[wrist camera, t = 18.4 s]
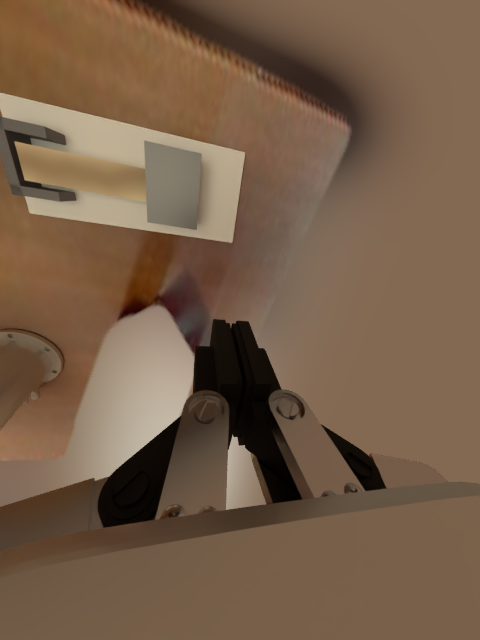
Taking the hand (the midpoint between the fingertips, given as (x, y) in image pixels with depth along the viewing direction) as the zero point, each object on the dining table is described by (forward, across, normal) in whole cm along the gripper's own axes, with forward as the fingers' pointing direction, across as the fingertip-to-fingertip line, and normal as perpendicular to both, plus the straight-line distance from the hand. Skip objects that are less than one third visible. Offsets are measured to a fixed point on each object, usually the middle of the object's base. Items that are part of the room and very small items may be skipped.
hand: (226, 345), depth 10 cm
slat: (+28, +13, -6) cm, 32 cm away
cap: (+28, +5, -6) cm, 29 cm away
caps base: (+29, +10, -6) cm, 31 cm away
